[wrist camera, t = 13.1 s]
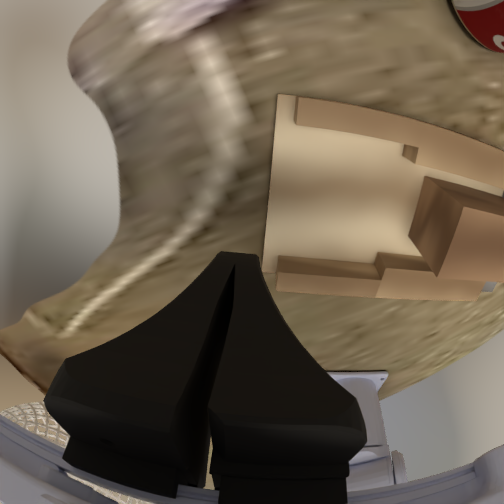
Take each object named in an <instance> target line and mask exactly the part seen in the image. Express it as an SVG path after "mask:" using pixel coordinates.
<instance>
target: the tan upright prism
mask: <svg viewBox="0 0 504 504" xmlns="http://www.w3.org/2000/svg"><path fill="white" fill-rule="evenodd" d="M408 237H409V238H410V240H411V241H412V242H413V244H414V245H415V247H416V248H417V249H418V251H419V252H420V254H421V255H422V257H423V258H424V259H425V261H426V262H427V264H428V265H429V267H430V268H431V270H432V271H433V273H434V274H435V276H436V277H437V278H444V279H458V280H473V281H488V282H503V283H504V198H503V197H501V196H498V195H495V194H491V193H488V192H485V191H481V190H478V189H474V188H471V187H467V186H464V185H460V184H456V183H452V182H449V181H445V180H441V179H436V178H432V177H428V176H424V181H423V185H422V188H421V192H420V196H419V200H418V203H417V207H416V211H415V214H414V217H413V221H412V224H411V227H410V231H409V234H408Z"/></svg>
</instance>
